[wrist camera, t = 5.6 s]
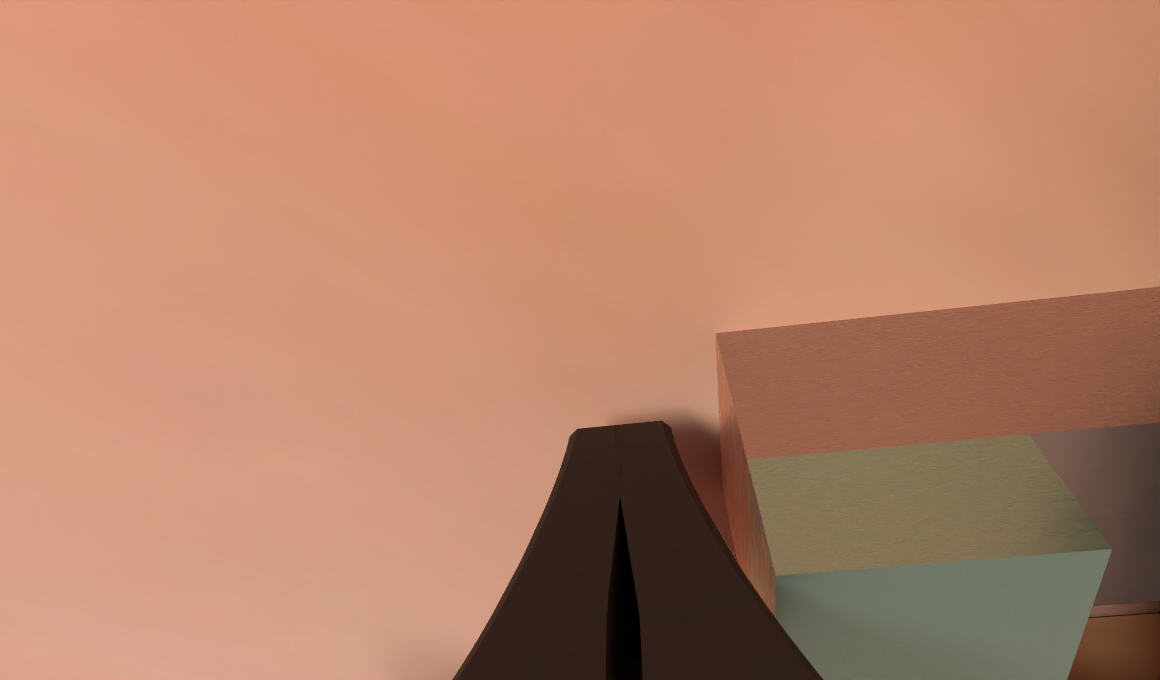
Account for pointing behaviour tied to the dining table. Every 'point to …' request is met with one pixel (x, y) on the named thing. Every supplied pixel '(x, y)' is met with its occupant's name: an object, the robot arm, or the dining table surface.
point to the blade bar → (947, 481)
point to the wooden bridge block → (1119, 649)
